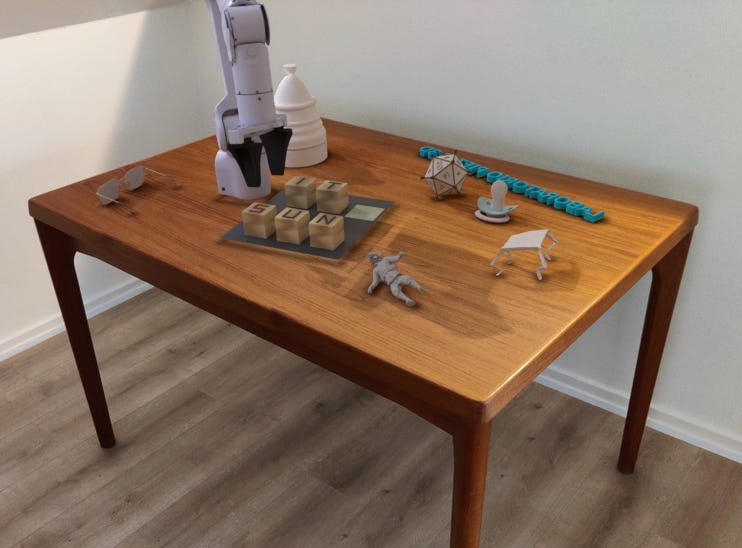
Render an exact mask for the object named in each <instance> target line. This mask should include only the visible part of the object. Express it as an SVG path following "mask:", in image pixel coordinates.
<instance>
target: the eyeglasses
mask: <svg viewBox="0 0 742 548" xmlns="http://www.w3.org/2000/svg"><path fill="white" fill-rule="evenodd" d="M145 170H147V171H150V172H153V173H156V174H159V175H161V176H164V177H166V178H168V179H170V180H171V181H172V183H174V185H175V187H176V189H178V188H179V187H178V185H177V184H176V182H175V180H174V179H173V178H172V177H170V176H168V175H165V174H163V173H160V172H157V171H155V170H153V169H150V168H148V167H145V166H144V165H138V166H135V167H134V168H131V169H129V170H128V171H127V172H126V173H125V174H124V177H122V178H121V179H118V178H113V179H110V180H109V181H106V182H104V184H102V185H100V186H99V187H98V188H97V191H96V192H95V193H96V195H97V196H98V197H99V200H100V203H101V204H102V205H109V204H110V203H112V202H115V203H117V204H120V205H123V206H125V207H126V208H127V209H128V210H129V212H130V213H131V214H132V215H134V213H133V211H132V210H131V209H130V208H129V206H127V205H126V204H124V203H122V202H119V201H117V200H116V199H118V197H119V195H120V192H122V187H123V185H122V183H120V182H121V181H122V180H124V183H125V186H126V188H127V189H128V190H129V191H132V190H135V189H137V188H139V187H141V185H143V184H144V180H145Z"/></svg>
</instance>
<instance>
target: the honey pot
mask: <svg viewBox="0 0 742 548" xmlns="http://www.w3.org/2000/svg"><path fill="white" fill-rule="evenodd" d="M282 68H283V70H284V72H285V74H286V75H285V76H284V77H283V78H282V79H281V81H280V83H279V85H278V86H277V89H276V91H275V93H274V103H275V111H276V114H286V116H287V125H288V126H286V127H284V128H291V129H292V132H293V135H292V137H291V139H290V142H289V145H288V149H287V154H286V162H285V168H303V167H310V166H315V165H318V164H320V163H322V162H324V161H325V160H326V159H327V158H328V141H327V140H328V139H327V130H326V127H325V126H324V125H323V120H322V119H321V114H320V112H319V111H318V109H317V106H316V103H317V98H316V96H314V95H313V94H311V93H310V91H309V89H308V88H307V86H306V85H305V84H304V82H303V81H302V79H301V78H300V77H298V76H297V75H295V73H296V72H297V64H296V63H286V64H284V65H283V67H282Z"/></svg>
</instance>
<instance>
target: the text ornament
mask: <svg viewBox="0 0 742 548" xmlns="http://www.w3.org/2000/svg"><path fill="white" fill-rule="evenodd" d="M430 153H431V154H433V155H434V157H435V156H442V155H443V151H442V150H441V149H436V148H435V147H433V146H422V147H420V148H419V155H420V156H421V157H424V158H426V157H427V159H428V160H430V161H431V160H432V157H431V156H430ZM449 154H450V153H448V152H446V153H445V155H449ZM459 160H460V161H461V162H462V164H463V165H464V166H465V168H466V169H467V170H468V171H469V170H470V171H473V172H472V173H468V175H470V176H472V174H475V173H476V178H478V179H479V178H483V177H485V176H486V182H488V183H491V184H493V183H494V182H495V181H498V180H501V181H503V182H505V183H506V185H507V190H510V189H512V192H514V193H516V194H524V195H523V196H524V197H528V196H529V199H537V202H540V203H541V204H543V203H546V205H547V206H549V205H552V204H553V207H554V209H557V210H565V212H566V213H567V214H570V215H574V216H575V217H577V216H582V217H583V219H584V220H585V221H589V222H591V223H595V222H597V221H599V220H601V219H604V218H605V213H606V211H604V210H601V211H599V212H596V213H595V214H592V211H593V206H585V203H583V202H581V201H578V200H577V201H576V200H575V201H572V200H571V198H569V197H567V196H560V194H559V193H556V192H547V191H548V189H546V188H545V189H542V188H541V187H540V186H537V185H535V184H530V185H529V182H527V181H522V180H521V181H520V179H518V178H516V177H511V176H510V175H507V174H505V175H504V176H503V173H502V172H500V171H491V172H490V168H489V167H486V166H482V165H481V164H476V162H473V161H470V160H467V159H464V158H461V159H459ZM529 186H530V187H529Z"/></svg>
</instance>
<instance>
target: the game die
mask: <svg viewBox="0 0 742 548" xmlns="http://www.w3.org/2000/svg"><path fill="white" fill-rule="evenodd" d="M457 153H458V149H455V150H454V151H453V153H449V155H446V154H442V156H435V157H434V155H433V154H431V153H430V156H431V157H432V160H431V159H430V163H429V165H428V167H427V169H426V172H425V174H424V176H421V177H420V178H419V180H425V182H426V183H427V185H428V186H429V187H430V188H431V190H432V191H433V193H434V194H435V197H434V200H435V201H437V200H438V199H439V197H441V196H448V195H456V194H458V196H459V197H462V196H463V195H462V192H461V190H462V188H463V186H464V183H465V182H466V179H467V176H468V175H469V174H468V173H472V172H473V171H470V170H469V171H468V170H467V169H466V168H465V166H464V165H463V164H462V162H461V161H460V160H461V159H460V158H459V156H457ZM472 174H473V173H472Z"/></svg>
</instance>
